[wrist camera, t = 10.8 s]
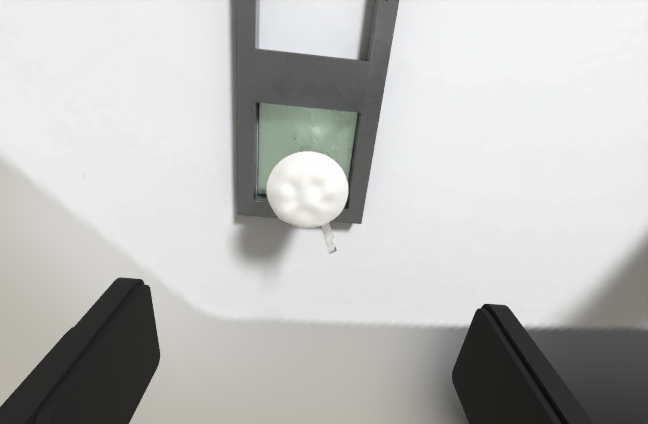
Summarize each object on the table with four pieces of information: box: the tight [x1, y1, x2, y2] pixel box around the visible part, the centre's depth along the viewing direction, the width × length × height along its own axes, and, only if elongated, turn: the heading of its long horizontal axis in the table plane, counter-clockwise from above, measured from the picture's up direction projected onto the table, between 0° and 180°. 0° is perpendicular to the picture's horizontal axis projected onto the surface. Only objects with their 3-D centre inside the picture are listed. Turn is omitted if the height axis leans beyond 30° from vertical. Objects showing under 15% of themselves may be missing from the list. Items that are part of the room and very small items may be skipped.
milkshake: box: [266, 131, 348, 253], centre depth 22 cm, size 4×5×10 cm
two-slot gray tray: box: [236, 0, 399, 224], centre depth 23 cm, size 10×21×2 cm, turn 174°
